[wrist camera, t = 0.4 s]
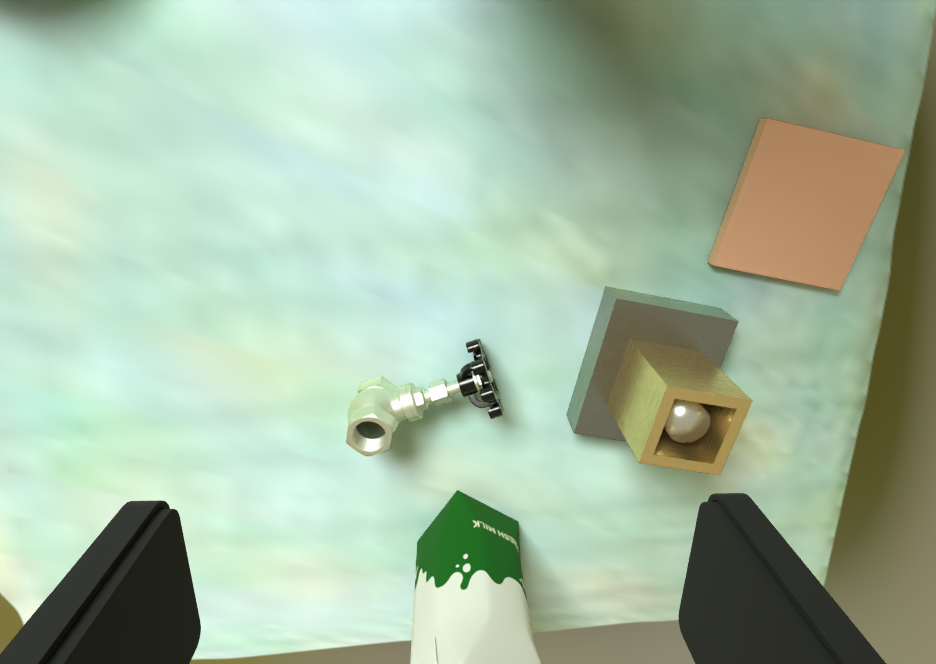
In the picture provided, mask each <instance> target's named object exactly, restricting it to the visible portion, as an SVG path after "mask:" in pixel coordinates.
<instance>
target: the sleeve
mask: <svg viewBox="0 0 936 664" xmlns="http://www.w3.org/2000/svg"><path fill="white" fill-rule="evenodd" d="M674 399H681V400H686V401H692V402H698V403H700V404H701V405H702V407H703V408H704V409H705V410H706V411H707V412H708V414H709V417H710V426H709V428H708V430H707V432H706V433H705V434H704V435H703V436H702V437H701V438H700V439H698V440H696V441H694V442H690V443H680V442H677V441H675V440H673V439H672V438H671V437H670V436H669V434H668V433H667V431H666V430H665V429H664V425H665V423H666V420H667V417H668V415H669V412H670V410H671V407H672V404H673V402H674ZM752 401H753V400H752V399H751V398H749V397H748V396H747V395H746V394H745V393H744V392H743V391H742V390H741V389H740V388H739V387H738V386H737V385H736V384H735V383H734V382H733V381H731V380H730V379H729V378H728V377H727V376H726V375H725V374H724V373H723V372H722V371H721V370H720V369H719V368H718V367H717V366H716V365H715V364H714V363H712V362H711V361H710V360H709V359H708V358H707V357H706V356H705V355H704V354H703V353H702V352H700V351H694V350H689V349H683V348H678V347H672V346H667V345H661V344H655V343H650V342H644V341H639V340H633V339H629V341H628V344H627V347H626V350H625V353H624V356H623V359H622V362H621V365H620V368H619V371H618V374H617V377H616V380H615V383H614V386H613V389H612V392H611V395H610V398H609V401H608V404H607V406H608V408H609V410H610V412H611V413H612V415H613V417H614V419H615V421H616V423H617V424H618V426H619V428H620V430H621V432H622V433H623V435H624V437H625V439H626V441H627V442H628V444H629V446H630V448H631V450H632V452H633V453H634V455H635V457H636V459H637V461H638V462H639V463H644V464H650V465H657V466H663V467H670V468H676V469H683V470H689V471H696V472H702V473H709V474H715V475H720V474H721V472H722V469H723V467H724V465H725V462H726V460H727V458H728V456H729V453H730V451H731V449H732V446H733V444H734V442H735V440H736V437H737V435H738V433H739V430H740V428H741V426H742V423H743V421H744V419H745V417H746V414H747V412H748V410H749V407H750V405H751V403H752Z"/></svg>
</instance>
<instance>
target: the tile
mask: <svg viewBox="0 0 936 664" xmlns="http://www.w3.org/2000/svg"><path fill="white" fill-rule="evenodd" d="M904 152H905V150H902V149H897V148H893V147H889V146H885V145H880V144H876V143H872V142H867V141H863V140H859V139H854V138H850V137H846V136H842V135H837V134H833V133H829V132H824V131H820V130H816V129H811V128H807V127H803V126H799V125H794V124H790V123H786V122H781V121H777V120H773V119H769V118H760V120H759V123H758V126H757V129H756V131H755V134H754V137H753V140H752V142H751V145H750V148H749V150H748V153H747V156H746V159H745V161H744V164H743V167H742V170H741V172H740V175H739V178H738V180H737V183H736V186H735V189H734V191H733V194H732V197H731V200H730V202H729V205H728V208H727V210H726V213H725V216H724V219H723V221H722V224H721V227H720V230H719V232H718V235H717V238H716V240H715V243H714V246H713V249H712V251H711V254H710V257H709V260H708V263H710V264H711V265H713V266H718V267H723V268H728V269H733V270H738V271H743V272H748V273H753V274H758V275H763V276H768V277H773V278H778V279H783V280H788V281H794V282H799V283H804V284H809V285H814V286H819V287H824V288H829V289H834V290H839V291H840V290H841V288H842V286H843V284H844V282H845V279H846V277H847V275H848V273H849V271H850V269H851V266H852V264H853V262H854V260H855V258H856V256H857V253H858V251H859V249H860V247H861V245H862V243H863V240H864V238H865V236H866V234H867V232H868V230H869V227H870V225H871V223H872V221H873V219H874V217H875V215H876V212H877V210H878V208H879V206H880V204H881V202H882V199H883V197H884V195H885V193H886V191H887V189H888V186H889V184H890V182H891V180H892V178H893V176H894V173H895V171H896V169H897V167H898V165H899V163H900V160H901V158H902V156H903V154H904Z"/></svg>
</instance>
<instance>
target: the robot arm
mask: <svg viewBox="0 0 936 664" xmlns="http://www.w3.org/2000/svg"><path fill="white" fill-rule="evenodd" d="M679 624H680V629H681V633H682V635H683V638H684V640H685V642H686V644H687V646H688V649H689V651H690V653H691V655H692V657H693V659H694V661H695V663H696V664H886V663H885V662H884V660H883V659H882V658H881V657H880V656H879V654H878V653H877V652H876V651H875V650H874V648H873V647H872V646H871V645H870V643H869V642H868V641H867V640H866V638H865V637H864V636H863V635H862V634H861V632H860V631H859V630H858V629H857V627H856V626H855V625H854V624H853V623H852V622H851V620H850V619H849V618H848V616H847V615H846V614H845V613H844V612H843V610H842V609H841V608H840V607H839V605H838V604H837V603H836V602H835V601H834V599H833V598H832V597H831V596H830V594H829V593H828V592H827V591H826V590H825V588H824V587H823V586H822V585H821V583H820V582H819V581H818V580H817V579H816V577H815V576H814V575H813V574H812V572H811V571H810V570H809V569H808V568H807V566H806V565H805V564H804V563H803V561H802V560H801V559H800V558H799V557H798V555H797V554H796V553H795V552H794V550H793V549H792V548H791V547H790V546H789V544H788V543H787V542H786V541H785V539H784V538H783V537H782V536H781V535H780V533H779V532H778V531H777V530H776V528H775V527H774V526H773V525H772V524H771V522H770V521H769V520H768V519H767V517H766V516H765V515H764V514H763V513H762V511H761V510H760V509H759V508H758V506H757V505H756V504H755V503H754V502H753V500H752V499H751V498H750V497H749V496H748V495H747V494H744V493H727V494H712V495H711V496H710V497H709V499H708V502H703V503H702V504H701V505H700V508H699V512H698V517H697V522H696V527H695V532H694V537H693V543H692V548H691V553H690V558H689V563H688V568H687V574H686V579H685V584H684V589H683V594H682V599H681V604H680V610H679ZM200 631H201V625H200V618H199V613H198V608H197V603H196V598H195V593H194V588H193V583H192V578H191V573H190V568H189V562H188V557H187V552H186V547H185V542H184V537H183V532H182V527H181V522H180V517H179V513H178V511H177V510H175V509H170V508H169V505H168V504H167V502H165V501H130V502H127V503H126V504H125V505H124V506H123V507H122V508H121V509H120V511H119V512H118V513H117V514H116V515H115V517H114V518H113V519H112V520H111V521H110V523H109V524H108V525H107V526H106V527H105V529H104V530H103V531H102V532H101V534H100V535H99V536H98V537H97V538H96V540H95V541H94V542H93V543H92V544H91V546H90V547H89V548H88V549H87V550H86V552H85V553H84V554H83V555H82V557H81V558H80V559H79V560H78V561H77V563H76V564H75V565H74V566H73V567H72V569H71V570H70V571H69V572H68V573H67V575H66V576H65V577H64V578H63V580H62V581H61V582H60V583H59V584H58V586H57V587H56V588H55V589H54V590H53V592H52V593H51V594H50V595H49V596H48V597H47V598H46V600H45V601H44V602H43V603H42V604H41V606H40V607H39V608H38V609H37V610H36V612H35V613H34V614H33V615H32V616H31V618H30V619H29V620H28V621H27V623H26V624H25V625H24V626H23V627H22V629H21V630H20V631H19V632H18V634H17V635H16V636H15V637H14V638H13V640H12V641H11V642H10V643H9V644H8V646H7V647H6V648H5V649H4V650H3V652H2V653H1V654H0V664H189V663H190V661H191V659H192V657H193V654H194V652H195V650H196V648H197V645H198V642H199V638H200Z"/></svg>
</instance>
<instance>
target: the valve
mask: <svg viewBox="0 0 936 664" xmlns="http://www.w3.org/2000/svg"><path fill="white" fill-rule="evenodd" d="M466 347H467V350H468V353H470V352H473V351H474V352H473V354H474V360H475V361H472V362H471V363H469V364H467V365H465V366H464V367H463V368H462V369H461V371H460V373H458V374H457V381H454V382H451V383H448V384H447V382H446V380H445V379H442V380H439V381H436V382H432V383H429V389H426V390H423V388H422V387H417V388H416V387H415V386H414V384H413V383H408V384H405V385H402V386H400V387H399V388H398V387H397V386H395V385H394V384H393V383H391V382H390V381H388V380H387V379H386V378H384V377H383V376H379V377H376V378H373V379H370V380H367V381H364V382H361V383H360V387H359V390H358V394H357V395H356V396H355V397H354V398H353V400H352V401H351V403H350V406H349V409H348V422H349V425H348V432H347V440H346V443H347V444H348V445H349V446H350V447H352V448H353V449H354V450H356V451H357V452H359V453H361V454H362V455H364V456H372V455H375V454H379V453H381V452H384V451H386V450H389V449H390V445H391V439H392V433H393V432H394V431H395V430H396V428H397V426H398V424H399V422H400V421H402V420H405V419H408V420H409V421H410V422H412V421H415V420H418V419H421V418H423V411H424V410H427V409H428V404H430V403H434V404H435V406H439V405H442V404H445V403H449V402H451V400H452V397H451V395H454V394H457V393H460V392H461V393H462V395H463V397H464V398H465V397H468V396H469V399H470V401H471V403H472V404H473V405H475V406H476V407H479V408H485V407H489V406H490V409H489V410H488V413H489V416H490V418H491V419H493V418H496V417H499V416H502V415H503V411H504V409H503V405H502V402H501V400H500V398H498V395H497V392H498V387H497V384H496V381H495V379H493V377H492V375H491V372H490V363H489V360H488V357H487V355H485V356H484V353H483V352H484V349H483V345H482V343H481V340H480V339H476V340H473V341H470V342H467V343H466ZM478 393H480V395H481V398H482V401H479V400H478V399H477V397H476V394H478Z"/></svg>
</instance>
